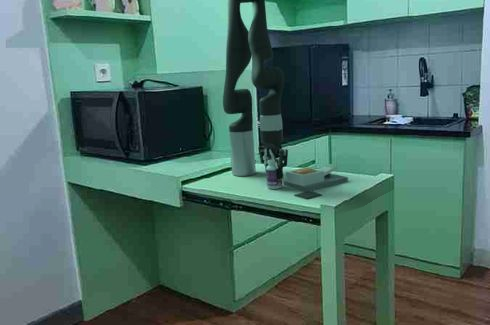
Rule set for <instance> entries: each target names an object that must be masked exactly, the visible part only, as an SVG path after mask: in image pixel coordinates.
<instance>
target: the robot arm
mask: <svg viewBox="0 0 490 325" xmlns="http://www.w3.org/2000/svg"><path fill="white" fill-rule="evenodd" d="M265 1H266V0H227V35H226V47H225V49H226V51H225V55H226V56H225V77H224V78H225V79H224V86H223V92H222V93H223V96H222V108H223V110H224V113H225V114H226V115H236V114H237V115H238V114H241V116H240V118H239V119H237V120H235V121H233V122H231V123H230V124H229V125H228V131H229V141H230V142H229V143H230V152H229V154H230V165H231V174H232V175H233V176H235V177H248V176H252V175H255V174H256V173H257V170H256V168H257V167H256V156H255V155H256V153H255V142H254V141H255V140H254V126H253V124H254V120H253V118H254V117H253V116H254V115H253V114H254V113H253V97H252V93H251V91H250V90H249V89H248V88H239V89H237V88H236V87H237V84H238V81H239V78H240V77H241V76H242V74H243V73H244V72H245V70H246V69H247V67H248V66H249V64H250V63H251V82H252V84H253V86H254V87H255V89H256V90H259V91H263V90H269V92H268V94H267V95H266V96H263V97H261V98H260V99H259V101H258V104H259V105H258V107H259V132H260V142H261V144H263V145H261V146H258V148H257V149H258V154H259V159H260V164H263V165H264V167H265V170H264V171H266V167H267V166H268V160H269V159H272V160H273V162H274V163H275V166H276V168H277V169H276V179H278V180H279V179H282V180H283V179H284V169H283V168H284V167H287V166H288V154H289V150H288V149H287V148H283V147H282V143H283V142H284V130H283V119H282V111H281V100H282V94H283V90H284V84H285V74H284V72H283V70H282V69H281V68H280V67H278V66H270V67H267V66H266V67H265V63H267V62H269V61H272V59H273V58H274V52H273V47H272V43H271V40H270V36H269V29H268V22H267V11H266V2H265ZM245 3H246V4H247V3H248V4H249V3H252V6H253V18H252V21H251V23H250V27H249V29H248V28H247V26H246V25H245V23H244V21H243V19H242V15H241V4H245ZM278 161H279V165H278Z"/></svg>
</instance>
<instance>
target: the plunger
mask: <svg viewBox="0 0 490 325" xmlns="http://www.w3.org/2000/svg"><path fill="white" fill-rule="evenodd" d="M314 169H315V168H311V167H307V168H306V167H302V168H301V167H300V168H297V169H295V170H296V173H298V174H302V175H305V174H309V173H313V172H314Z"/></svg>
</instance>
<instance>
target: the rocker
mask: <svg viewBox="0 0 490 325" xmlns="http://www.w3.org/2000/svg"><path fill="white" fill-rule="evenodd" d="M338 169H339V166H338V164H337V165H336V164H333V163H329V164H327V165H325V166H323V167H320V168H319V169H318V170H322V171H324V176H325V175H327V174H329V173H331V174H332V172H334V171H337V170H338Z"/></svg>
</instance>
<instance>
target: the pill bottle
mask: <svg viewBox="0 0 490 325" xmlns="http://www.w3.org/2000/svg"><path fill="white" fill-rule="evenodd" d="M278 165H279V161H278ZM276 169H277V168H276V166H275V163H274V162H273V160H272V159H269V160H268V166H267V167H266V170H265V176H266V188H268V189H270V190H279V189H282V188H283V186H284V185H283V178H282V179H279V180H278V179H276Z"/></svg>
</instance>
